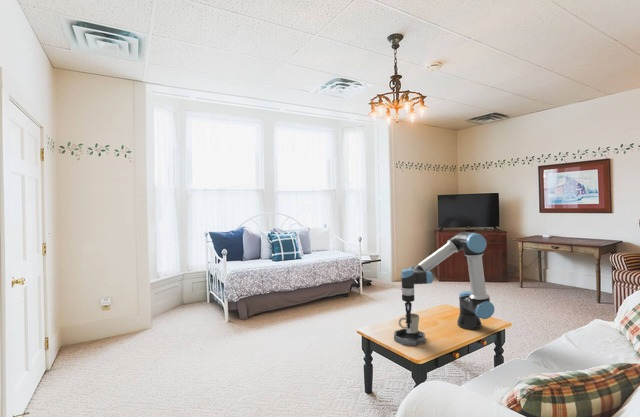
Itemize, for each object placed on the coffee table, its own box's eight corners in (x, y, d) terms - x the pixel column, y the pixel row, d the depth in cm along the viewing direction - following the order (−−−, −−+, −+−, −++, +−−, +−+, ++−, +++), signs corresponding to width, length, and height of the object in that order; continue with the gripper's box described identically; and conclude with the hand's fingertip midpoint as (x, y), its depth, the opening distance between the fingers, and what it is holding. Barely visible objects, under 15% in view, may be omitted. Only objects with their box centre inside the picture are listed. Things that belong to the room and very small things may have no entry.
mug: (420, 334, 203) (419, 318, 203) (399, 333, 205) (398, 317, 205) (418, 329, 211) (418, 313, 211) (398, 328, 214) (398, 312, 213)
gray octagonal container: (424, 334, 215) (424, 329, 215) (425, 346, 197) (425, 341, 197) (395, 332, 220) (395, 327, 220) (393, 344, 202) (393, 339, 202)
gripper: (402, 289, 218) (403, 325, 219) (401, 298, 200) (402, 336, 200) (414, 290, 216) (415, 325, 217) (414, 298, 198) (415, 337, 198)
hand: (409, 330), depth 208 cm, fingers closed on mug, 6 cm apart
